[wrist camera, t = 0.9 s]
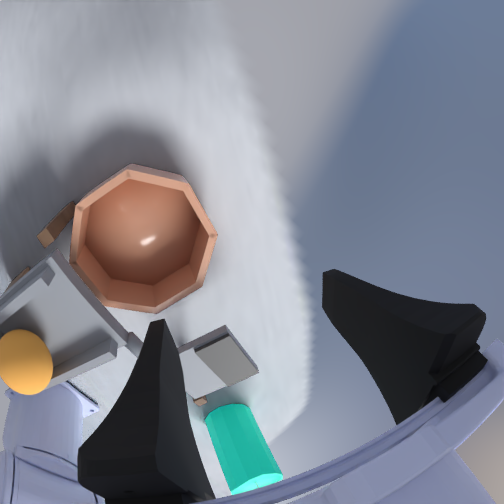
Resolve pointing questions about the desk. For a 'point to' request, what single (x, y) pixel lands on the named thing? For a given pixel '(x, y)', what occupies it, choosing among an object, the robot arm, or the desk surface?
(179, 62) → the desk surface
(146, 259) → the bowl
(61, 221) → the lever stand
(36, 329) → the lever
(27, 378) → the ball
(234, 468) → the candle
